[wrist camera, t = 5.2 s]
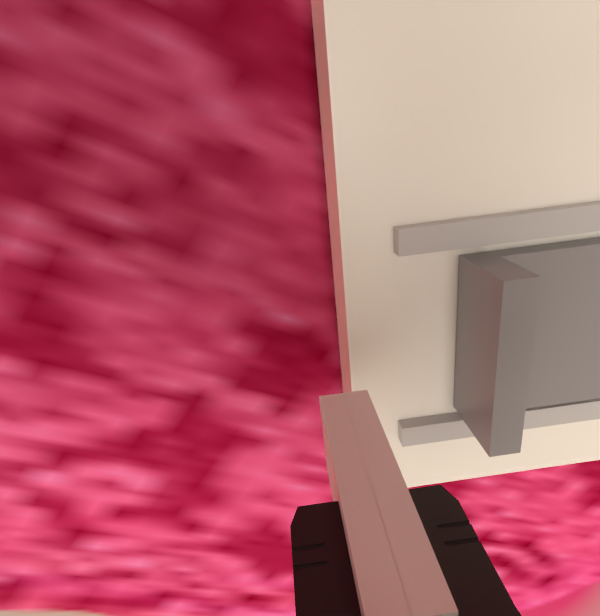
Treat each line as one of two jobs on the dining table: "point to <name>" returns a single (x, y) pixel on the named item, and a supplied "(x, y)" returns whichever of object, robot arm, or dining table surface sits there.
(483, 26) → the socket board
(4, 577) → the dining table surface
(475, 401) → the shutter
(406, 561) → the robot arm
